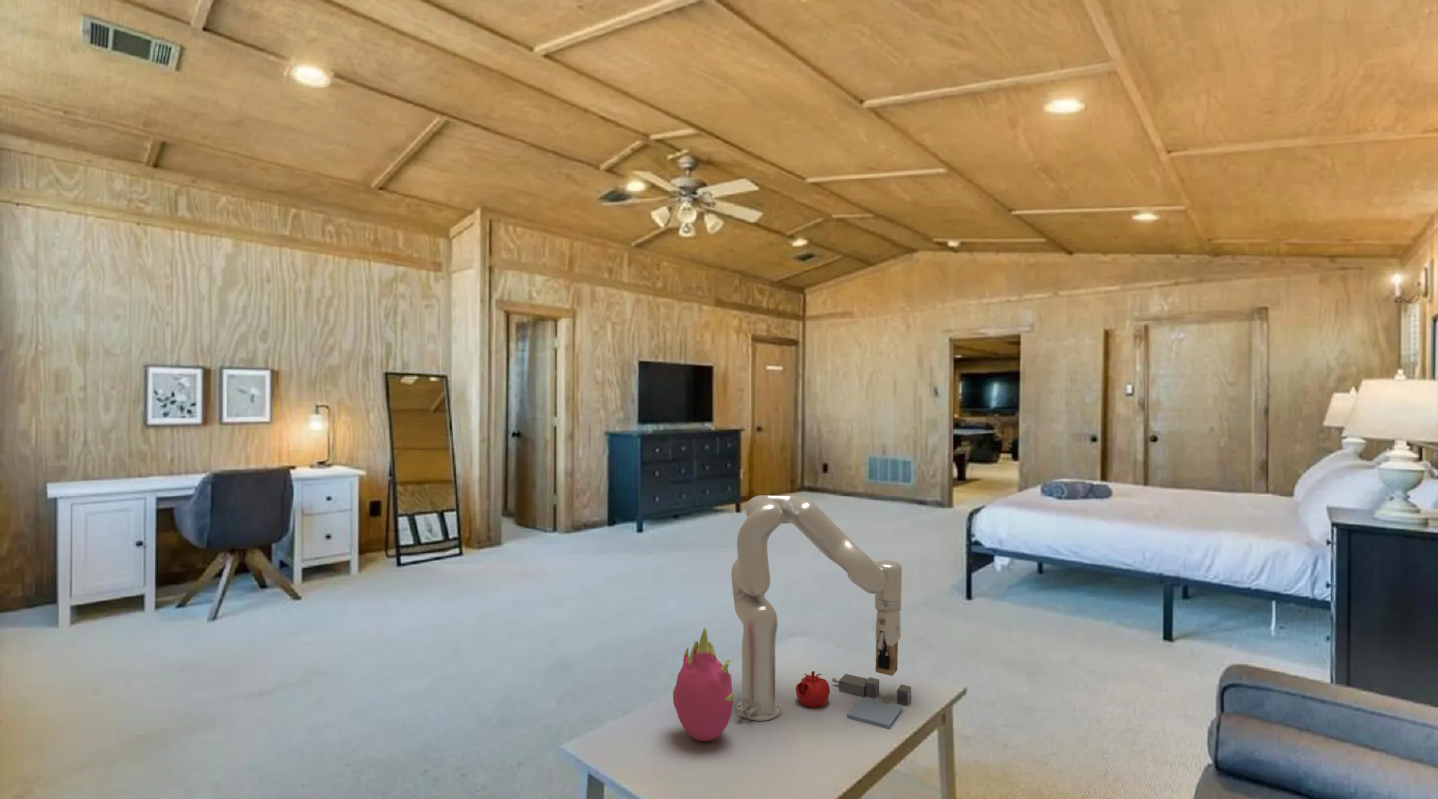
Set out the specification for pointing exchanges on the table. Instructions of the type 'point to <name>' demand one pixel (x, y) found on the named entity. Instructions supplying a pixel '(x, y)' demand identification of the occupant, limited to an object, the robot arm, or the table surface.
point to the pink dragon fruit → (703, 692)
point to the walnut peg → (892, 663)
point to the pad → (875, 713)
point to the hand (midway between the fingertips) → (886, 664)
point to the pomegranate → (813, 690)
